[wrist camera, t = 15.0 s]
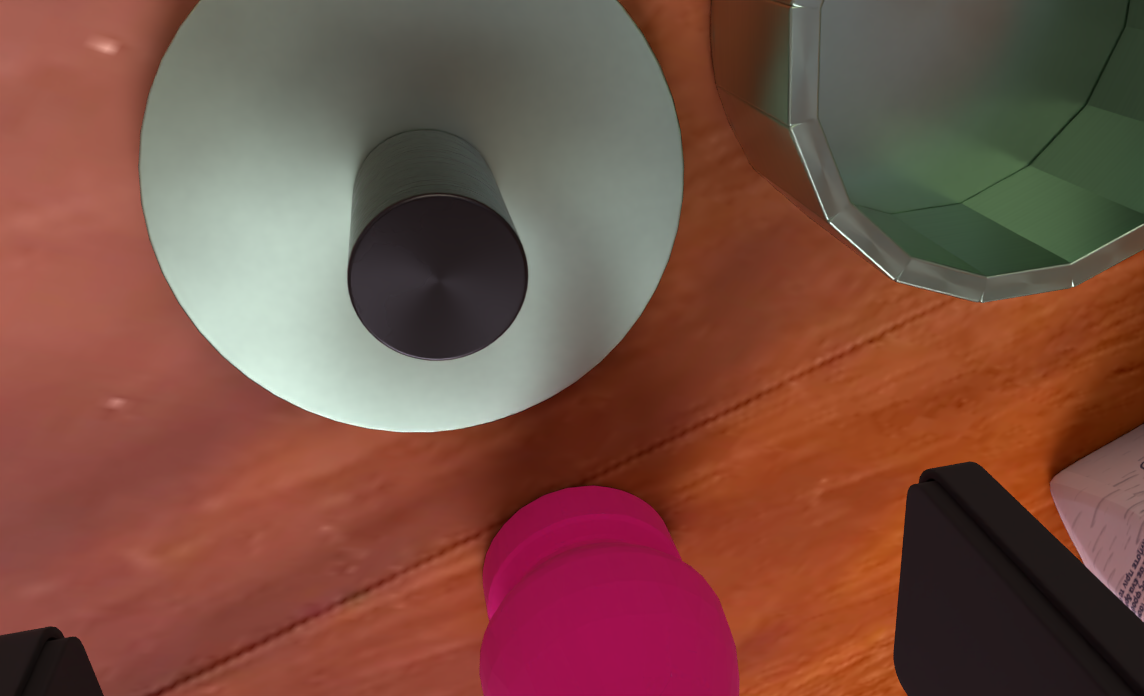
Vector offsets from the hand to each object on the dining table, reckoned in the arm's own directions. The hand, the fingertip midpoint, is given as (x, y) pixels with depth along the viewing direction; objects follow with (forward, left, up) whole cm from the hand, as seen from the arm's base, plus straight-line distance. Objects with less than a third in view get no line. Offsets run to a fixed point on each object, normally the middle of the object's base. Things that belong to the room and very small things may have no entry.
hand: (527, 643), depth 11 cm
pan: (+14, +4, -16) cm, 22 cm away
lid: (0, +1, -16) cm, 16 cm away
